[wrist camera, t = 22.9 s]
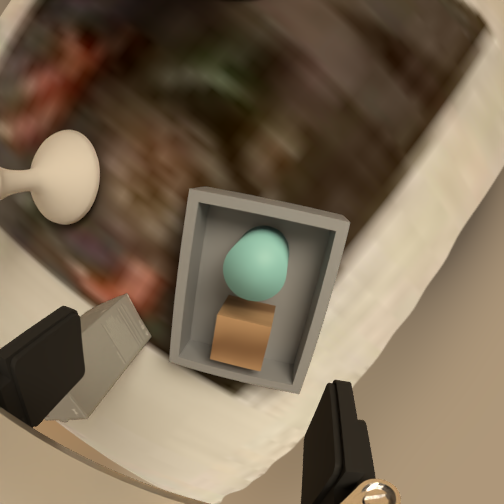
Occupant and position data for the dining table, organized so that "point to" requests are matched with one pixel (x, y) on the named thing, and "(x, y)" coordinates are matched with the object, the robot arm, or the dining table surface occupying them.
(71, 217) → the flower in vase
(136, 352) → the skincare box
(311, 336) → the tote
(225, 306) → the walnut cube
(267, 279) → the mint rounded capsule part
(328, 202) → the dining table surface
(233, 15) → the dining table surface
